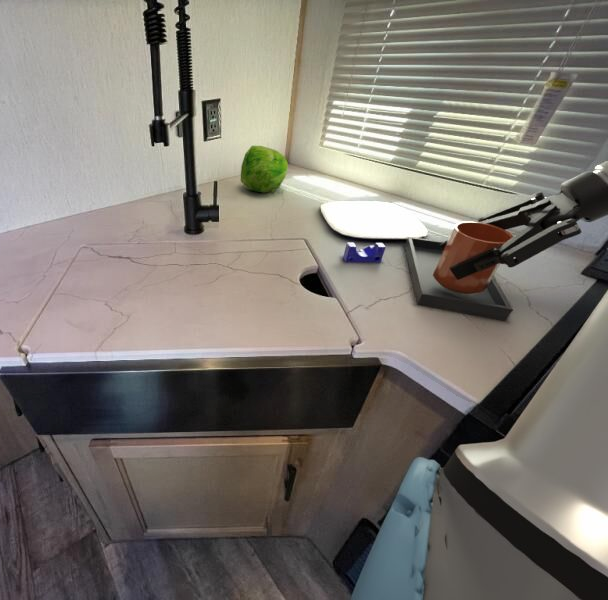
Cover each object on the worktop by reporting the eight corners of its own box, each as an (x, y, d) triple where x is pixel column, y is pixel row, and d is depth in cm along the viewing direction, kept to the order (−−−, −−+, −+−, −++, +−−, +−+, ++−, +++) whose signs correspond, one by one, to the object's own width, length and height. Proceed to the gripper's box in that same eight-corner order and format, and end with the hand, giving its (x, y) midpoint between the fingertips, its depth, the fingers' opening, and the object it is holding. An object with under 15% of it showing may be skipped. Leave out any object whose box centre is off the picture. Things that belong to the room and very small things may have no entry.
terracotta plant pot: (495, 292, 66) (527, 240, 60) (454, 298, 65) (481, 245, 59) (460, 268, 74) (484, 219, 67) (422, 273, 72) (443, 223, 66)
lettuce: (277, 180, 128) (292, 144, 118) (275, 209, 114) (292, 170, 104) (239, 169, 128) (251, 131, 118) (232, 196, 114) (245, 156, 104)
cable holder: (374, 255, 83) (379, 239, 81) (380, 262, 80) (385, 247, 78) (341, 254, 83) (345, 239, 81) (345, 262, 80) (349, 246, 78)
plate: (396, 206, 108) (398, 200, 107) (437, 244, 87) (439, 238, 86) (313, 205, 108) (314, 200, 107) (335, 243, 88) (336, 236, 87)
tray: (505, 321, 63) (513, 309, 62) (417, 304, 67) (422, 293, 66) (471, 255, 83) (476, 245, 81) (404, 246, 87) (407, 236, 85)
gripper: (660, 236, 47) (471, 307, 60) (581, 185, 63) (447, 249, 77) (639, 193, 45) (449, 275, 59) (563, 152, 61) (429, 224, 75)
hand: (448, 261), depth 68 cm, fingers closed on terracotta plant pot, 9 cm apart
